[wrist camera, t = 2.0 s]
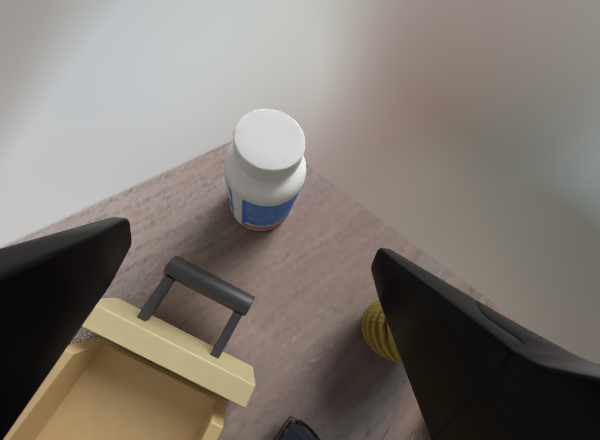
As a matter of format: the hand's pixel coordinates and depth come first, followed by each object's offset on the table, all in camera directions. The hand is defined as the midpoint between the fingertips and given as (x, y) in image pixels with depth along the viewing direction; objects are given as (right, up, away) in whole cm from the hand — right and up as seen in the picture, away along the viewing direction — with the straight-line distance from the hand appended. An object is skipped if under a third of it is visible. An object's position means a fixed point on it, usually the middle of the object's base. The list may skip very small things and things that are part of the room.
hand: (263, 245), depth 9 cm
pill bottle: (-2, +2, +14) cm, 14 cm away
